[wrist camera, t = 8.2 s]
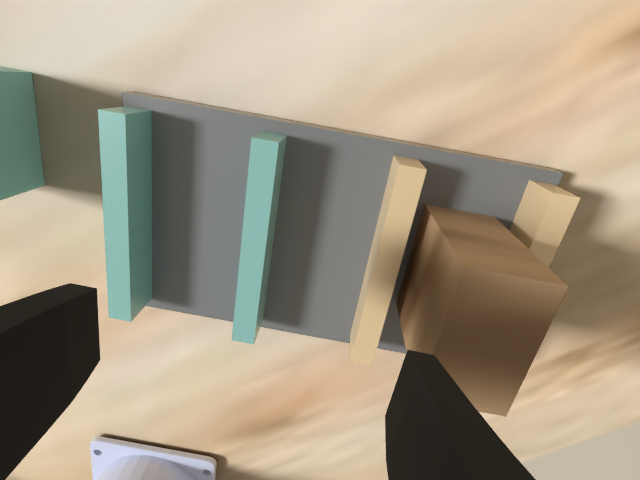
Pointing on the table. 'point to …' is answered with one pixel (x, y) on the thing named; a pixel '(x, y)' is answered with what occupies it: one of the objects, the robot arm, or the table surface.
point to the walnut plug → (477, 303)
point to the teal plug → (18, 134)
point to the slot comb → (290, 217)
